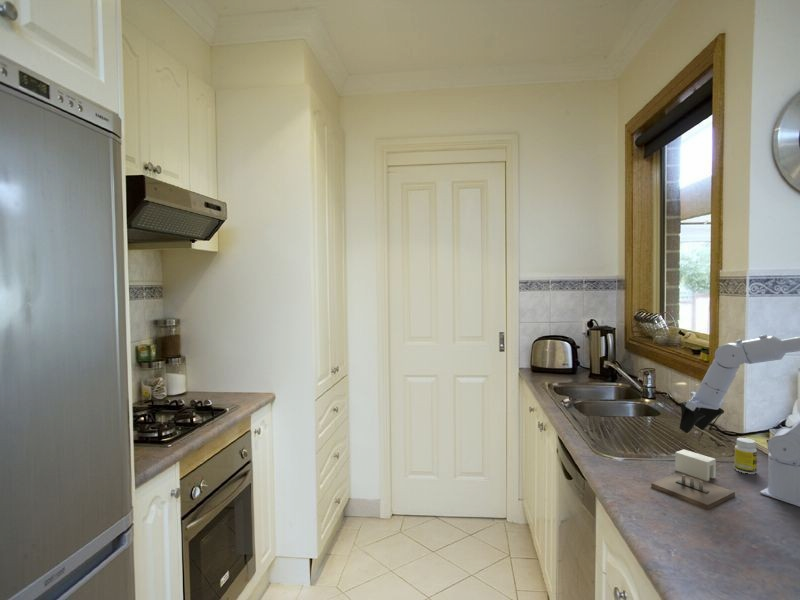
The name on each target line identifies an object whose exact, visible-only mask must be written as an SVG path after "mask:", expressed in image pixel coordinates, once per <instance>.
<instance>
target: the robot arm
mask: <svg viewBox="0 0 800 600" xmlns="http://www.w3.org/2000/svg"><path fill="white" fill-rule="evenodd" d="M758 337H759V338H754V339H753V338H752V339H747V340H746V339H745V340H742V339H737V340H736V341H735V342H729V343H726V344H722V345H721V346H719V347H718V348H717V349H716V350H715V352H714V359H713V360H712V363H711V365H709V367H708V369H707V371H706V373H705V374H704V377H703V378H702V380H701V382H700V384H699V387H698V388H697V390H696V391H690V393H689V395H690V396H691V398H690V399H688V400H687V402H686V401H682V402H681V404H680V409H681V410H680V411H681V416H680V417H681V418H680V422H679V423H680V424H679V430H681V431H683V432H684V433H685V434H688V433H690V432H691V431H692V429H693V428H694V427H697V428H698V429H699V430H701V431H704V430H705V429H706V428H707V427H708V426H709V425H710V424H711V423H712V422H713V421H714V420H715V419H717V418H718V417H719V416H721V415H723V414H724V413H725V410H724V409H723V408H721V407H722V406H723V404H724V402H725V396H726V394H727V393H728V391H729V389H730V387H731V386H732V383H733V381H734V380H735V377H736V375H737V372H738V370H739V369H740V366H742V365H743V364H748V365H752V364H759V363H765V362H766V363H767V362H773V361H779V360H782V359H783V357H785V355H786V354H789V353H796V352H800V336H796V337H791V338H785V339H781V338H778V337H777V336H774V335H769V336H768V334H762V335H759V336H758ZM767 450H768V452H769V453H768V456H767V457H768V461H767V462H768V464H767V468H768V470H767V487H766V488H764V489H762V490H760V492H759V493H760V494H761V495H764V496H767V497H770V498H773V499H776V500H779V501H782V502H785V503H788V504H791V505H792V506H793V505H794V506H796V507H799V508H800V419H799V420H797V421H796V422H794V423H793V424H791V425H789V426H783V427H780V428H779V429H778V430H777V431H776V432H775V434H774V435H773V436H772V437H770V439H768V441H767Z"/></svg>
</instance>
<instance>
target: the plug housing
mask: <svg viewBox="0 0 800 600" xmlns="http://www.w3.org/2000/svg"><path fill="white" fill-rule="evenodd" d="M674 455H675V456H674V458H675V459H674V462H675V464H674V466H675V467H674V469H675V470H674V471H676V472H679V473H682V474H685V475H688V476H691V477H694V478H697V479H699V480H702V481H705V482H709V481H710V479H716V477H717V475H716V474H717V473H716V472H717V470H716V467H717V466H716V464H717V463H716V462H717V459H716V458H714V457H710V456H706V455H703V454H701V453H698V452H694V451H692V450H691V451H690V450H687V449H684V448H683V449H681V450H678V451H675V454H674Z"/></svg>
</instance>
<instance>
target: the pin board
mask: <svg viewBox="0 0 800 600" xmlns="http://www.w3.org/2000/svg"><path fill="white" fill-rule="evenodd" d="M650 485H651V486H650V487H651V488H653V489H655V490H658V491H661V492H662V493H666V494H668V495H670V496H673V497H676V498H678V499H681V500H684V501H685V502H688V503H691V504H693V505H696V506H699V507H700V508H704V509H706V510H709V509H712V508H714V507H716V506H718V505H719V504H722V503H723V502H725V501H728V500H729V499H731V498H734V497H735V496H736V491H733V490H731V489H727V488H725V487H722V486H719V485H717V484H713V483H711V482H709V481H705V480H702V479H699V478H696V477H693V476H691V475H688V474H685V473H682V472H679V471H677V472H675V473H673V474H670V475H667V476H665V477H663V478H661V479H658V480H655V481H653V482H651V483H650Z"/></svg>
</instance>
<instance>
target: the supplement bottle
mask: <svg viewBox="0 0 800 600" xmlns="http://www.w3.org/2000/svg"><path fill="white" fill-rule="evenodd" d="M756 447H757V445H756V441H755V440H754V439H751V438H747V437H737V438H736V445H735V446H734V470H735V469H736V470H735V471H737V472H738V471H739V472H738V473H741V472H742V474H745V473H748V474H747V475H755V473H756V474H757V471H758V470H757V469H758V468H757V464H758V463H757V462H758V451H757V448H756Z"/></svg>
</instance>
